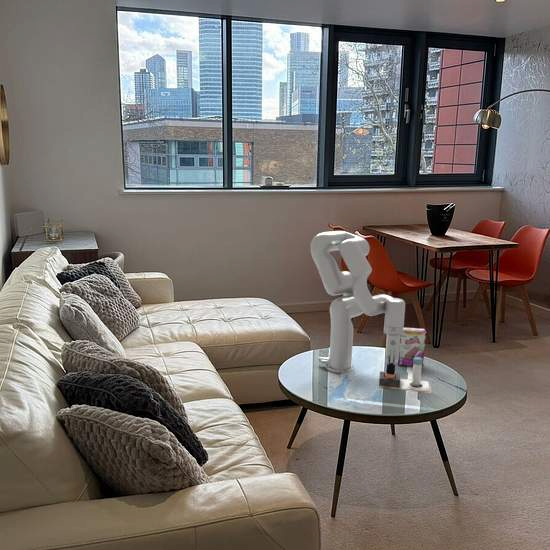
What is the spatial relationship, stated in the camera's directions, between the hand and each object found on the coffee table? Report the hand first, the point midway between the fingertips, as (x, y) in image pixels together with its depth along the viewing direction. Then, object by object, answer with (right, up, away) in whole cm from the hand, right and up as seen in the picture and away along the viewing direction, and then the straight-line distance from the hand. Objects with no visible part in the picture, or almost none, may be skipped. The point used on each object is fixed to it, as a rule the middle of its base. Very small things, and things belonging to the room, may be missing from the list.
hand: (390, 373), depth 233 cm
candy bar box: (+14, -1, +26) cm, 29 cm away
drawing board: (+6, -5, 0) cm, 8 cm away
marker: (+10, -4, -1) cm, 11 cm away
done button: (0, -3, +1) cm, 4 cm away
